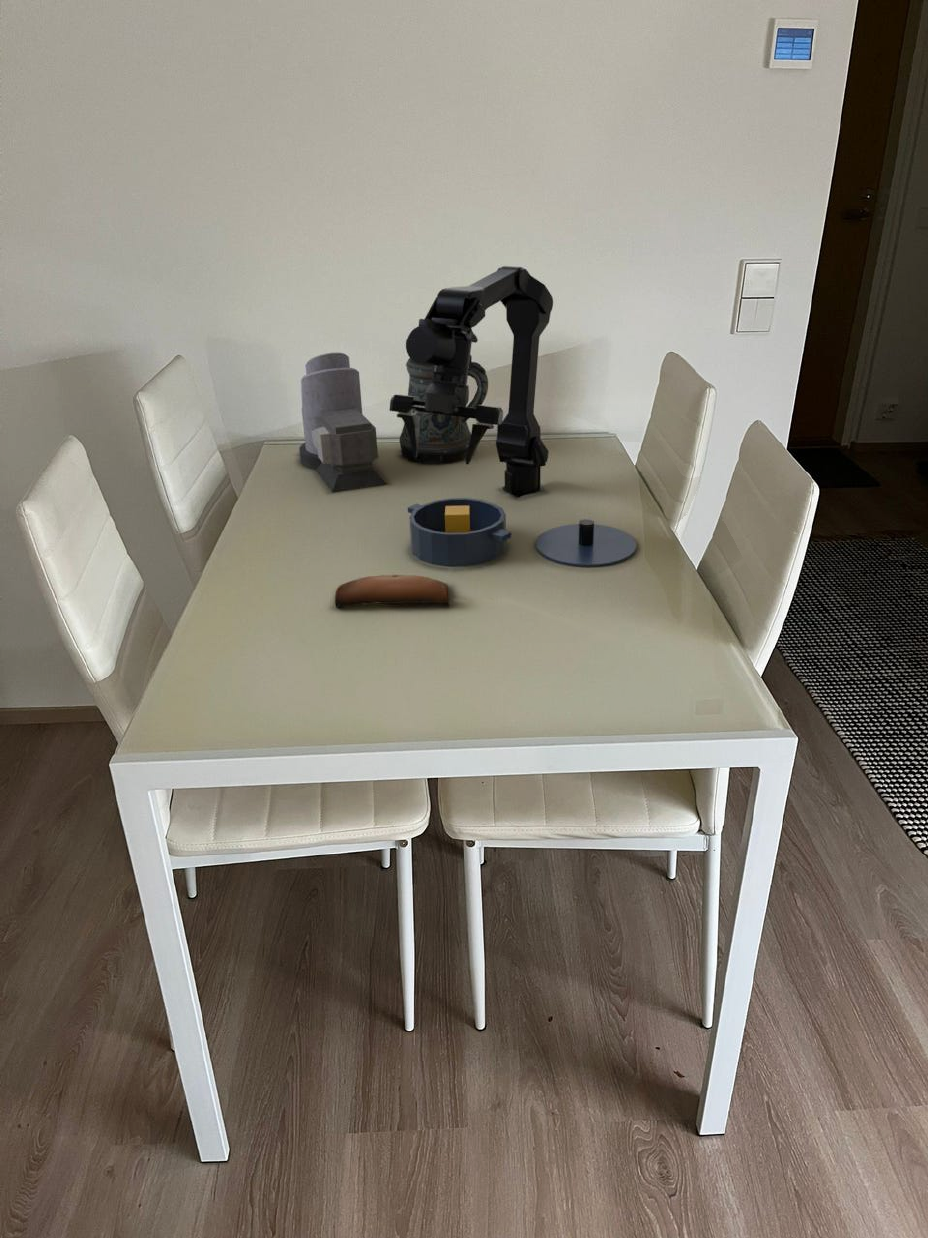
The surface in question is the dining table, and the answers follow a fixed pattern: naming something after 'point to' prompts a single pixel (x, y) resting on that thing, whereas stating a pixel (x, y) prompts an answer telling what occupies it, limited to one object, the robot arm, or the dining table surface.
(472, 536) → the pot
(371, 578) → the sunglasses case
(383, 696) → the dining table surface
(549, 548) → the lid
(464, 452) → the beer stein
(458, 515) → the block
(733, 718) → the dining table surface
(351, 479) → the juicer
